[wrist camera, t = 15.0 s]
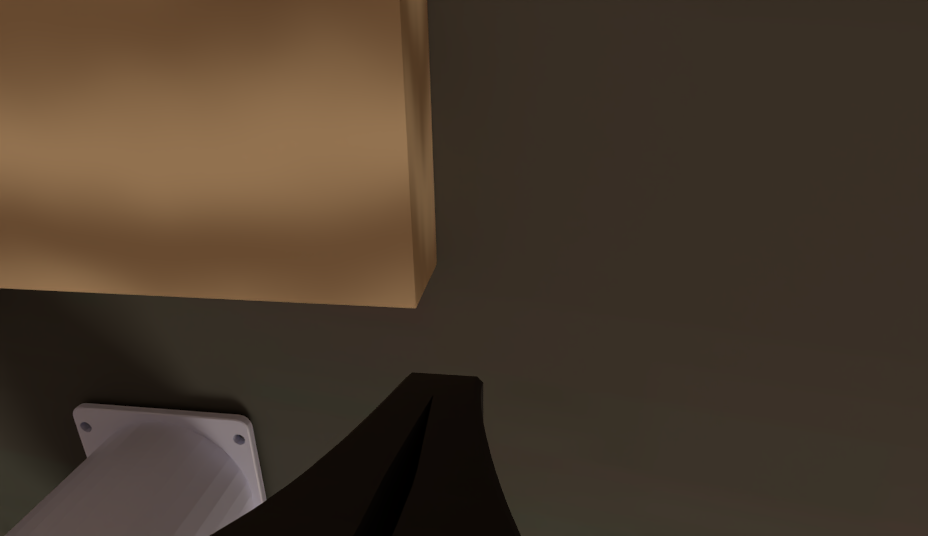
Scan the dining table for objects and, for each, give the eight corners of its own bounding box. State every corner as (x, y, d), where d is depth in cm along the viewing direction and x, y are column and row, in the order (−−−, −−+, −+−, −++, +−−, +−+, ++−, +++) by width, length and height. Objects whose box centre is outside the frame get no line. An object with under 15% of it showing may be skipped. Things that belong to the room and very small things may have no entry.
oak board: (436, 263, 21) (415, 308, 17) (77, 249, 22) (-2, 288, 19) (414, -339, 14) (376, -441, 11) (-81, -290, 16) (-236, -366, 13)
